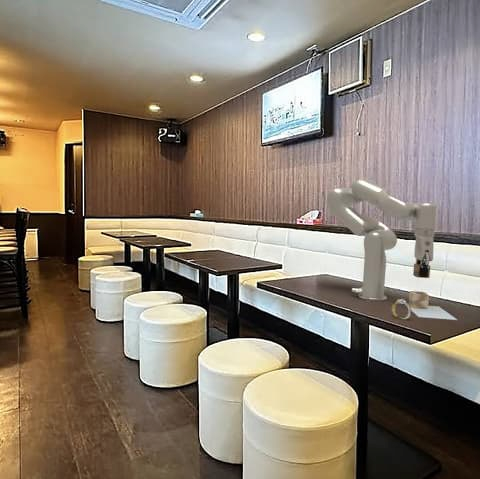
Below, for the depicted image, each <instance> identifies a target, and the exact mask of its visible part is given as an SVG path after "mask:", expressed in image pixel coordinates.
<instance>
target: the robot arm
mask: <svg viewBox="0 0 480 479" xmlns="http://www.w3.org/2000/svg"><path fill="white" fill-rule="evenodd" d="M362 202H367V203H369V204H371V205H373V206H374V207H376V208H377V209H378V210H379V211H381V212H382V213H384V214H386V215H388V216H390V217H392V218H394V219H396V220H400V221H415V222H414V237H416V238H415V242H414V243H415V244H414V254H413V255H414V258H415V264H421V268H420V271H419V277H418V278H420V277H423V278H425V279H428V278H427V277H428V268H429V266H430V262H432V261H434V238H435V230H436V220H437V205H436V204H435V203H430V202H429V203H427V202H426V203H424V202H421V203H418V202H417V203H415V202H411V201H410V202H407V201H402V200H399V199H396V198H394V197H393V196H391V195H390V194H389V193H388V190H387V189H386V188H384V187H381V186H379V185H378V183H377V182H376V181H374V180H372V179H365V178H358V179H356V180H354V181H353V182H352V184H351V186H350V188H349V187H335V188H331V189H330V191H328V194H327V196H326V204H327V207H328V210H329V211H330V213H331V214H332V215H333V216H335V218H337V220H339V221H340V222H341V223H342V224H343V226H345V227H347V228H348V230H350V231H351V232H352V233H353V234H354V235H355V236H359V237H364V238H363V247H364V248H363V250H364V260H363V276H362V277H363V278H362V286H360V287H358V288H356V287H355V288H354V287H352V288H351V292H352V293H356V294H358V297H359V298H360V299H362V300H365V301H366V300H373V301H374V300H376V301H382V300H383V301H385V300H387V299H388V296H386V295H385V280H386V271H387V270H386V269H387V268H386V267H387V256H386V251H390V250H392V249H394V248H395V247H396V245H397V243H398V237H397V236H396V234H395V232H394V231H393V230H392V229H390V228H389V227H388V226H386V224H384V223H383V222H382V221H381V220H379V219H378V218H376V217H374V216H365V215H363V214H360V213H359V212H358V211H357V210H356V209H354V208H353V207H352V206H353V205H356V204H359V203H362Z"/></svg>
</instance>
